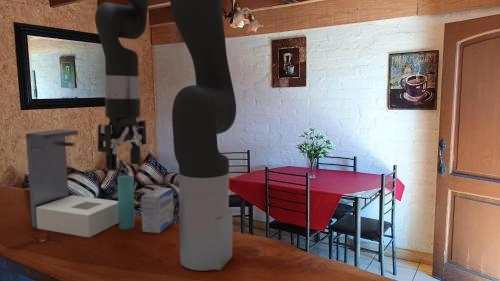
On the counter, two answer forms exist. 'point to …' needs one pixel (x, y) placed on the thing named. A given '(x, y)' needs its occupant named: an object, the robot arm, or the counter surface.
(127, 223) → the peg
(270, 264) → the counter surface
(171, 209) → the medicine box
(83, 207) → the socket
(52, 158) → the grey upright panel
